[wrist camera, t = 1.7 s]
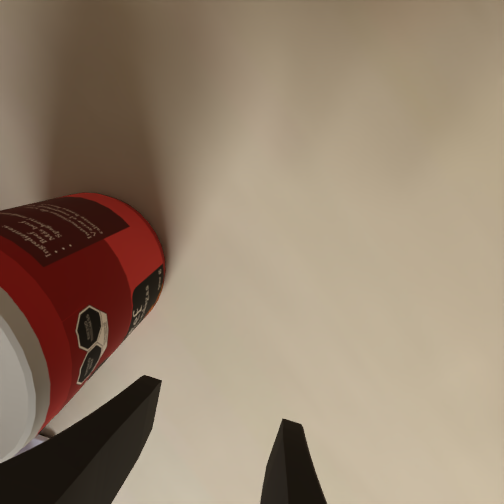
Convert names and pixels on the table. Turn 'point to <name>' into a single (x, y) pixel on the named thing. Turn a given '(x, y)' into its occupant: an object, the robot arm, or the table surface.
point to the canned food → (67, 301)
